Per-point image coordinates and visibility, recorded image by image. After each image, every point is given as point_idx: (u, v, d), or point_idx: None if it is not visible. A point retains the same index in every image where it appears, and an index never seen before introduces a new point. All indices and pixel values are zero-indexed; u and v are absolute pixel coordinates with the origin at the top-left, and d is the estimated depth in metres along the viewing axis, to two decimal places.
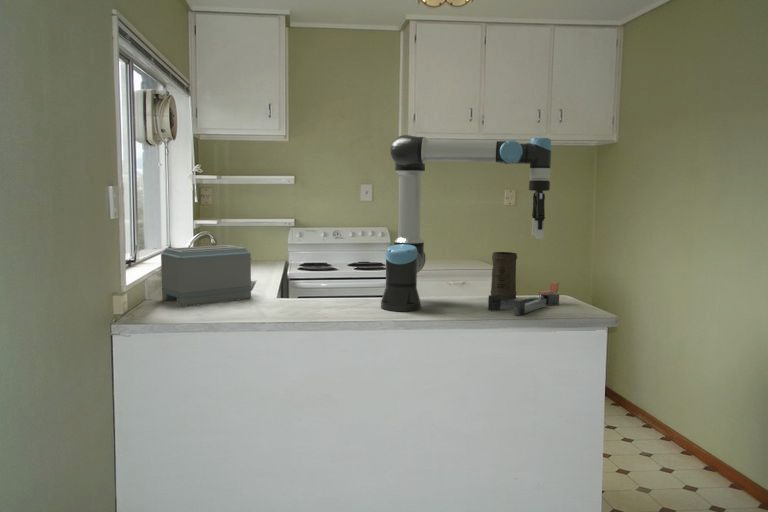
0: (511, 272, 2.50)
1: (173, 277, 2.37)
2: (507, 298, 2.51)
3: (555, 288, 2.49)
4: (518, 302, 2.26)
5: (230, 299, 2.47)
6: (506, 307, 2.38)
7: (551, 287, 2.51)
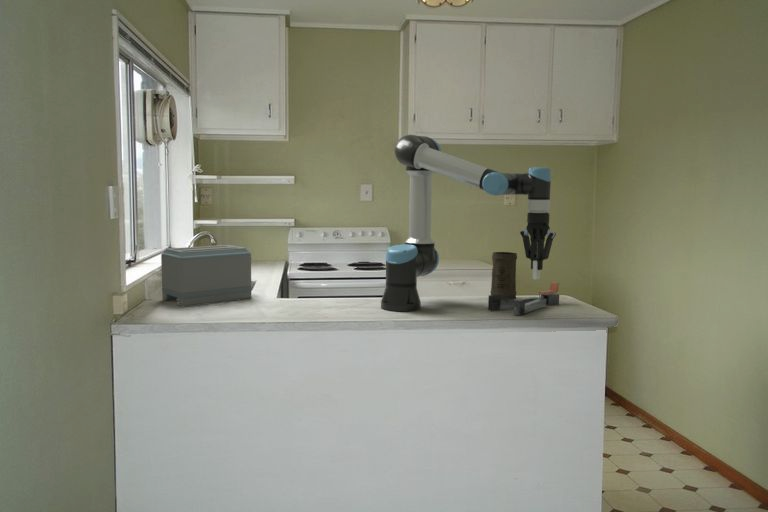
0: (511, 272, 2.50)
1: (174, 277, 2.36)
2: (507, 298, 2.51)
3: (555, 288, 2.49)
4: (518, 302, 2.26)
5: (231, 299, 2.47)
6: (506, 307, 2.38)
7: (551, 287, 2.51)
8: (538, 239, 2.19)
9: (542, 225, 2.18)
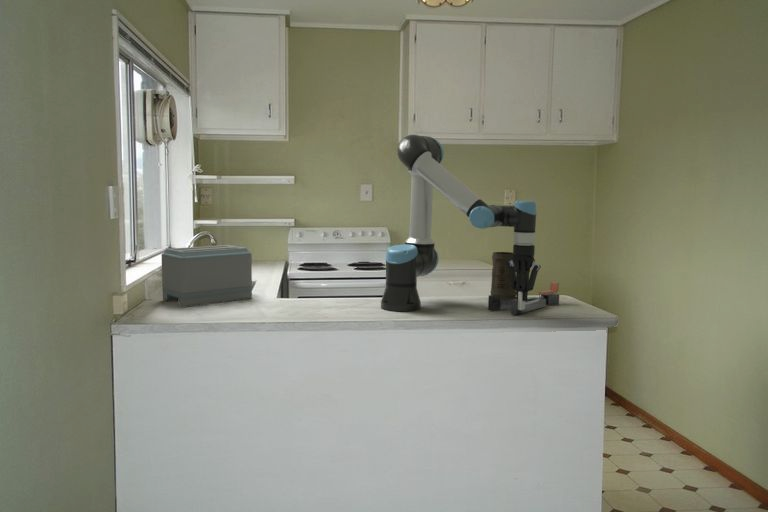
0: None
1: (175, 278, 2.36)
2: (507, 298, 2.51)
3: (555, 288, 2.49)
4: (515, 302, 2.27)
5: (231, 300, 2.47)
6: (506, 307, 2.38)
7: (551, 287, 2.51)
8: (523, 271, 2.24)
9: (527, 257, 2.23)
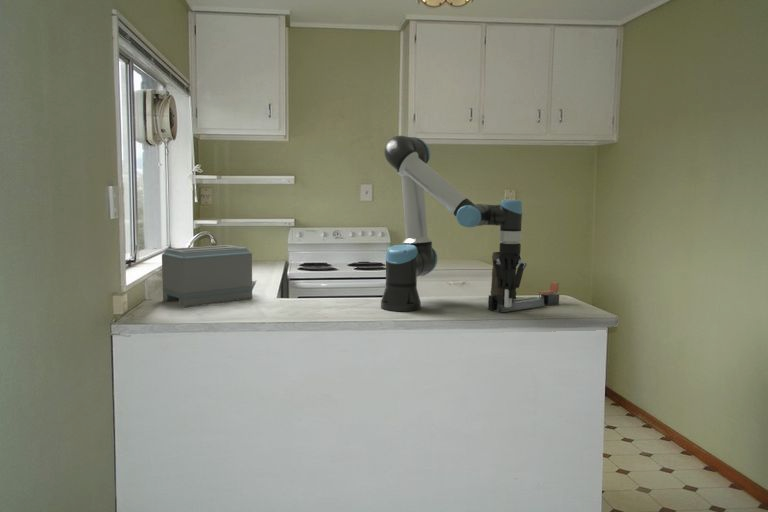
0: None
1: (175, 278, 2.36)
2: None
3: (555, 288, 2.49)
4: (500, 299, 2.31)
5: (232, 300, 2.47)
6: None
7: (551, 287, 2.51)
8: (509, 269, 2.27)
9: (513, 255, 2.26)
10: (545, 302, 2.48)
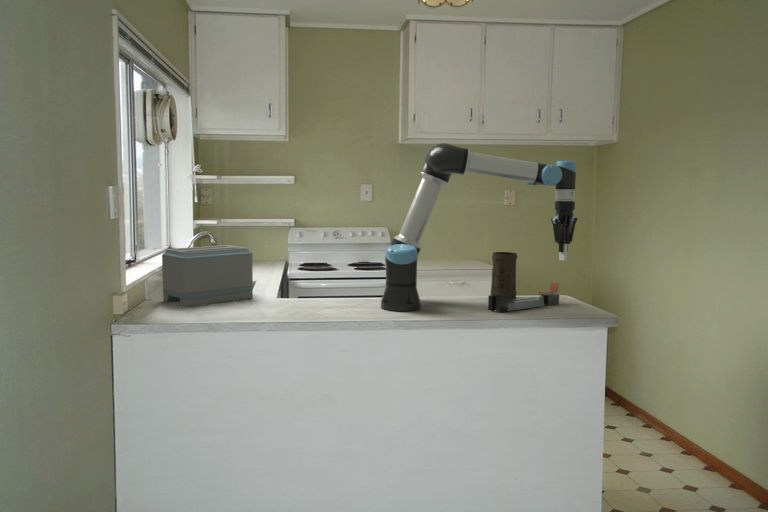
0: (511, 272, 2.50)
1: (176, 278, 2.35)
2: None
3: (555, 288, 2.49)
4: (498, 299, 2.31)
5: (233, 300, 2.47)
6: None
7: (551, 287, 2.51)
8: None
9: None
10: (545, 302, 2.48)
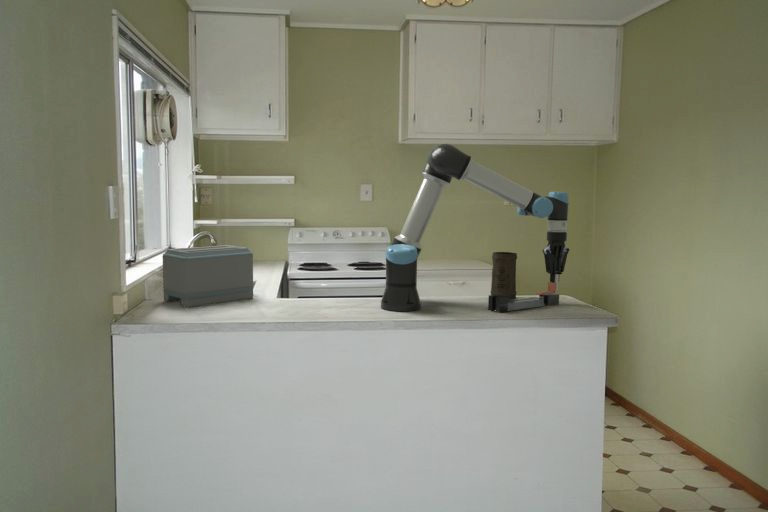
0: (511, 272, 2.50)
1: (177, 278, 2.35)
2: None
3: (553, 288, 2.48)
4: (498, 299, 2.31)
5: (233, 300, 2.46)
6: None
7: (549, 287, 2.50)
8: None
9: None
10: (545, 302, 2.48)
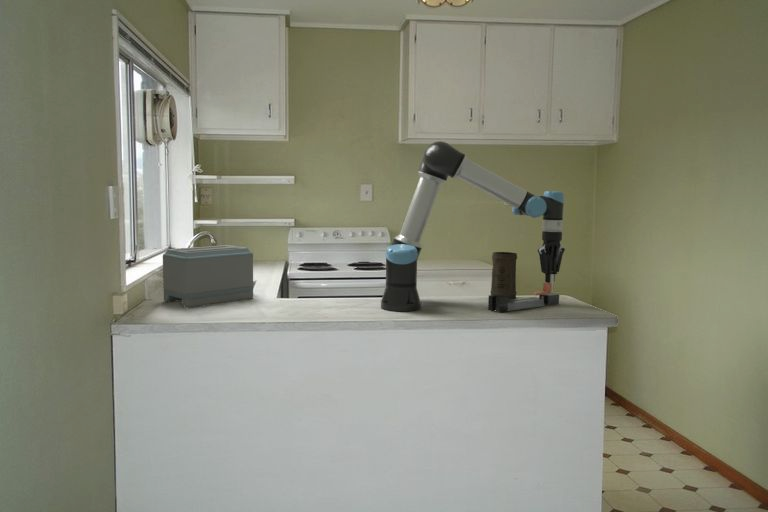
0: (511, 272, 2.50)
1: (178, 278, 2.35)
2: None
3: (548, 289, 2.47)
4: (498, 299, 2.31)
5: (234, 300, 2.46)
6: None
7: (544, 287, 2.49)
8: None
9: None
10: (545, 302, 2.48)
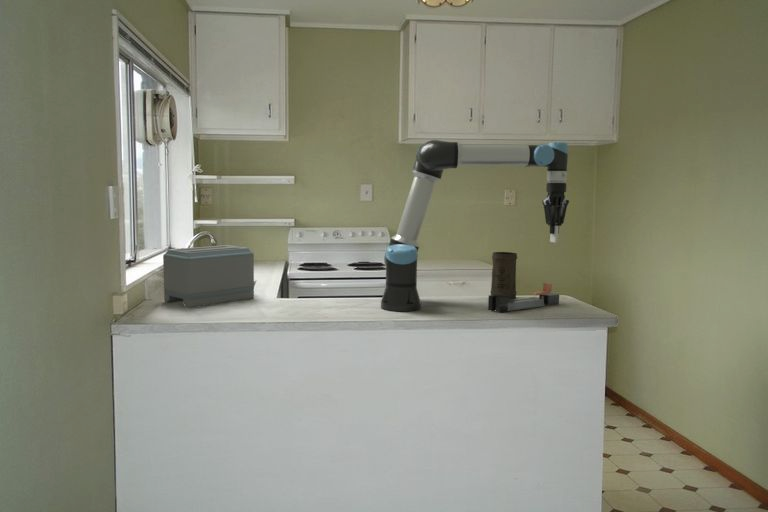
0: (511, 272, 2.50)
1: (179, 278, 2.34)
2: None
3: (548, 289, 2.47)
4: (498, 299, 2.31)
5: (235, 300, 2.46)
6: None
7: (544, 287, 2.49)
8: None
9: None
10: (545, 302, 2.48)
